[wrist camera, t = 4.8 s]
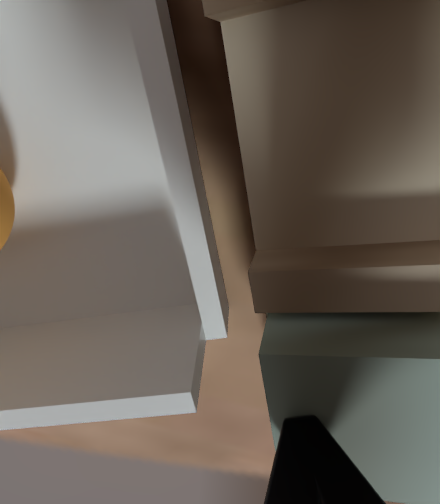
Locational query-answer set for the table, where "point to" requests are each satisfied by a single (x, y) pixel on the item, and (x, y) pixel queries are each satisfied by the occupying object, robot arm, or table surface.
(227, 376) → the table surface
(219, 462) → the table surface
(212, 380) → the table surface
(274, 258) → the lever
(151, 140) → the bin
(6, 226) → the ball
